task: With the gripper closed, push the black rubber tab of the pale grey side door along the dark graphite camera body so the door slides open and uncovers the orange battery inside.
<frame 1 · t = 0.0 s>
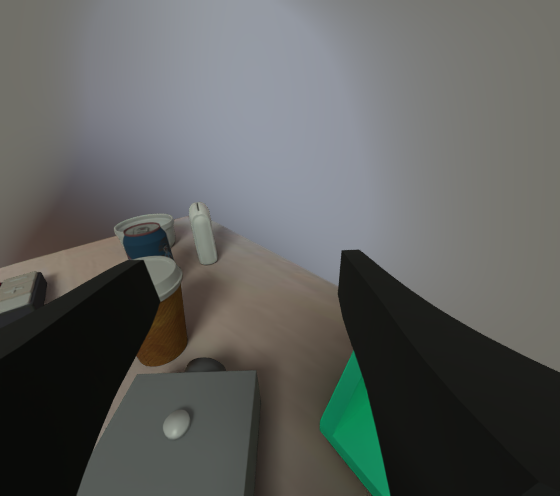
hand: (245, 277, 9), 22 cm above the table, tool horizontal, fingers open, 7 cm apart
soda can: (160, 286, 48), on the table
disposable coffee cup: (164, 348, 35), on the table
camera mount: (392, 430, 24), on the table
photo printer: (208, 255, 59), on the table
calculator: (6, 314, 44), on the table
ramekin: (152, 247, 65), on the table
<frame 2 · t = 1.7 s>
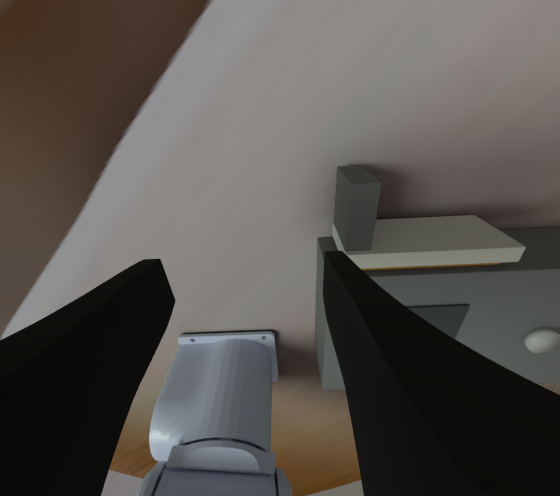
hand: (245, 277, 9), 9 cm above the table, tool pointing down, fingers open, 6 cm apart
side door: (423, 211, 15), point 3 cm above the table, slide at 0.0 cm
camera body: (429, 292, 22), on the table
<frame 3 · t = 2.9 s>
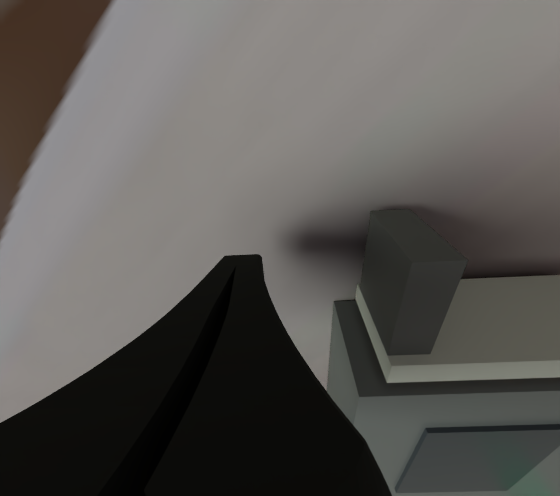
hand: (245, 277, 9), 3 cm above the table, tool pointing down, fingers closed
side door: (509, 284, 10), point 3 cm above the table, slide at 0.0 cm
camera body: (483, 363, 16), on the table
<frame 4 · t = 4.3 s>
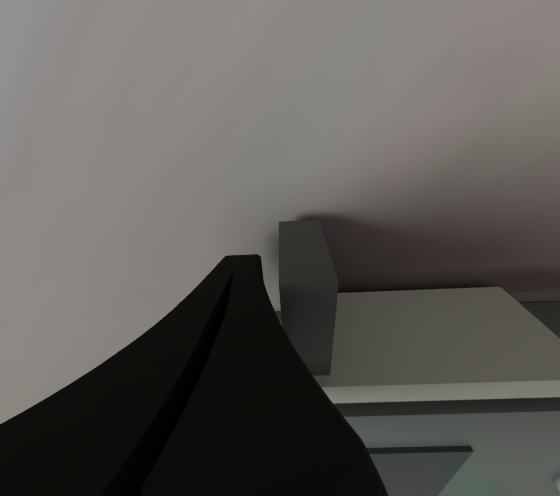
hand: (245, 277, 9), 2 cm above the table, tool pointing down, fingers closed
side door: (421, 299, 9), point 3 cm above the table, slide at 0.9 cm, touching gripper
camera body: (416, 375, 16), on the table
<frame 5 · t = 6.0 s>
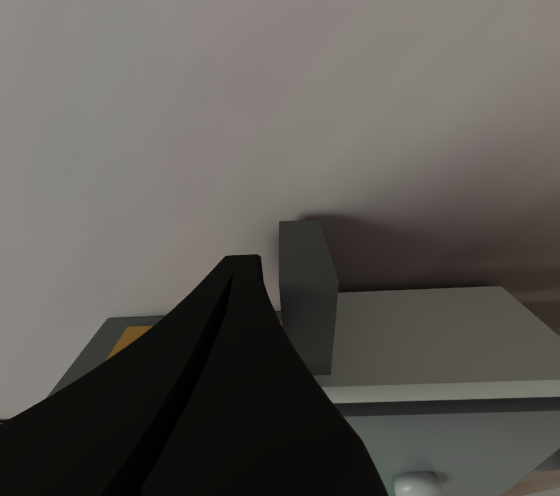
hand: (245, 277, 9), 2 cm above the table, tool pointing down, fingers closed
side door: (421, 299, 9), point 3 cm above the table, slide at 8.4 cm, touching gripper
camera body: (299, 378, 16), on the table
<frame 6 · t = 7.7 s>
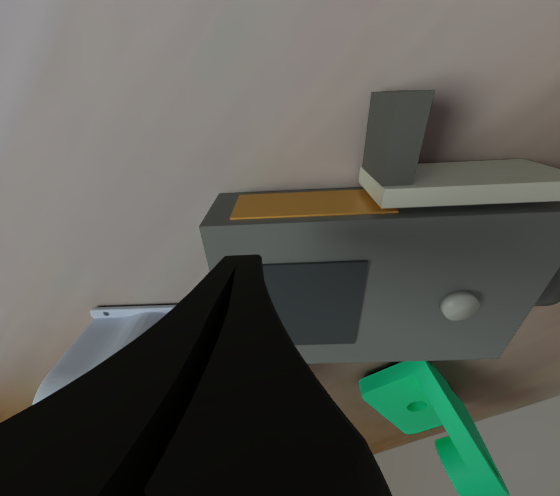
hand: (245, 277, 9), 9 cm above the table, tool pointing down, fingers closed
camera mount: (406, 381, 30), on the table
side door: (471, 143, 13), point 3 cm above the table, slide at 8.4 cm
camera body: (355, 260, 20), on the table
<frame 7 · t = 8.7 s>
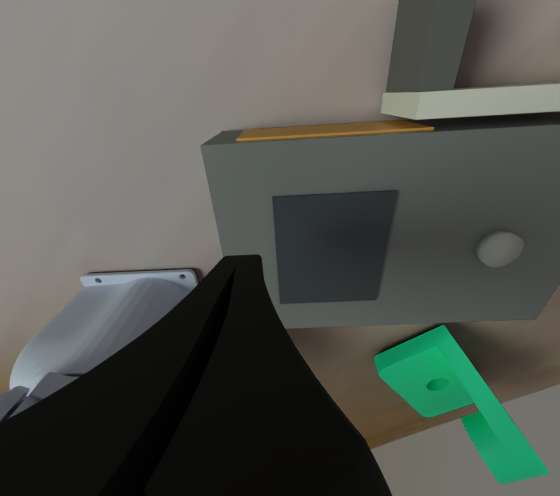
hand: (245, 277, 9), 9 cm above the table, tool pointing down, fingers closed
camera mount: (423, 359, 28), on the table
side door: (519, 45, 11), point 3 cm above the table, slide at 8.4 cm
camera body: (373, 213, 18), on the table
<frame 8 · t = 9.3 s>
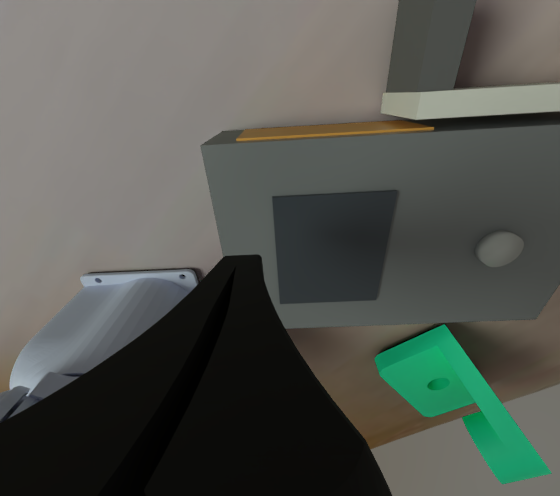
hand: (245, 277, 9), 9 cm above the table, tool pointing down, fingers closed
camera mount: (424, 359, 28), on the table
side door: (519, 45, 11), point 3 cm above the table, slide at 8.4 cm
camera body: (373, 213, 18), on the table
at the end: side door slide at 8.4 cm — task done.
